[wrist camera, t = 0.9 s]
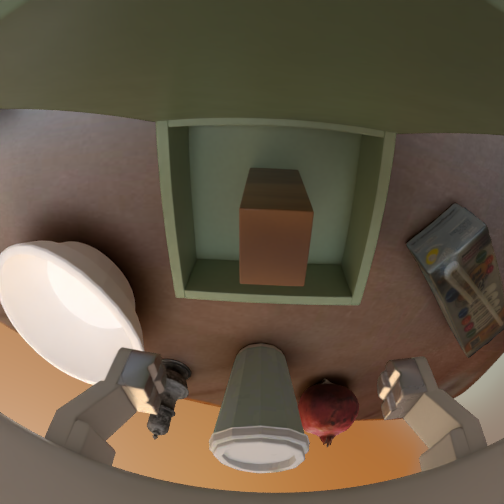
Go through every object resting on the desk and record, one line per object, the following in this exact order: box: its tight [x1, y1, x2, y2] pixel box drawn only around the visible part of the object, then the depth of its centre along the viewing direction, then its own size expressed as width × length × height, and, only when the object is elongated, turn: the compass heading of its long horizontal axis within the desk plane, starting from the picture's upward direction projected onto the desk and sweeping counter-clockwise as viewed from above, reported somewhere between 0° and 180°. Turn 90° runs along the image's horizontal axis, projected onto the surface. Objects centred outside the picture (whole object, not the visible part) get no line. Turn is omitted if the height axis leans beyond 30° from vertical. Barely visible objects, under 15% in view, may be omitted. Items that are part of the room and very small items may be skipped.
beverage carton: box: [406, 203, 504, 358], centre depth 25 cm, size 8×19×7 cm, turn 44°
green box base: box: [156, 118, 396, 305], centre depth 22 cm, size 15×16×6 cm
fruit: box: [298, 378, 359, 447], centre depth 35 cm, size 9×10×10 cm
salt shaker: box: [147, 359, 191, 439], centre depth 34 cm, size 6×6×12 cm
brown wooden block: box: [239, 168, 314, 286], centre depth 20 cm, size 5×4×9 cm
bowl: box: [0, 240, 144, 385], centre depth 28 cm, size 21×21×8 cm
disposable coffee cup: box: [209, 343, 310, 473], centre depth 30 cm, size 11×11×15 cm
